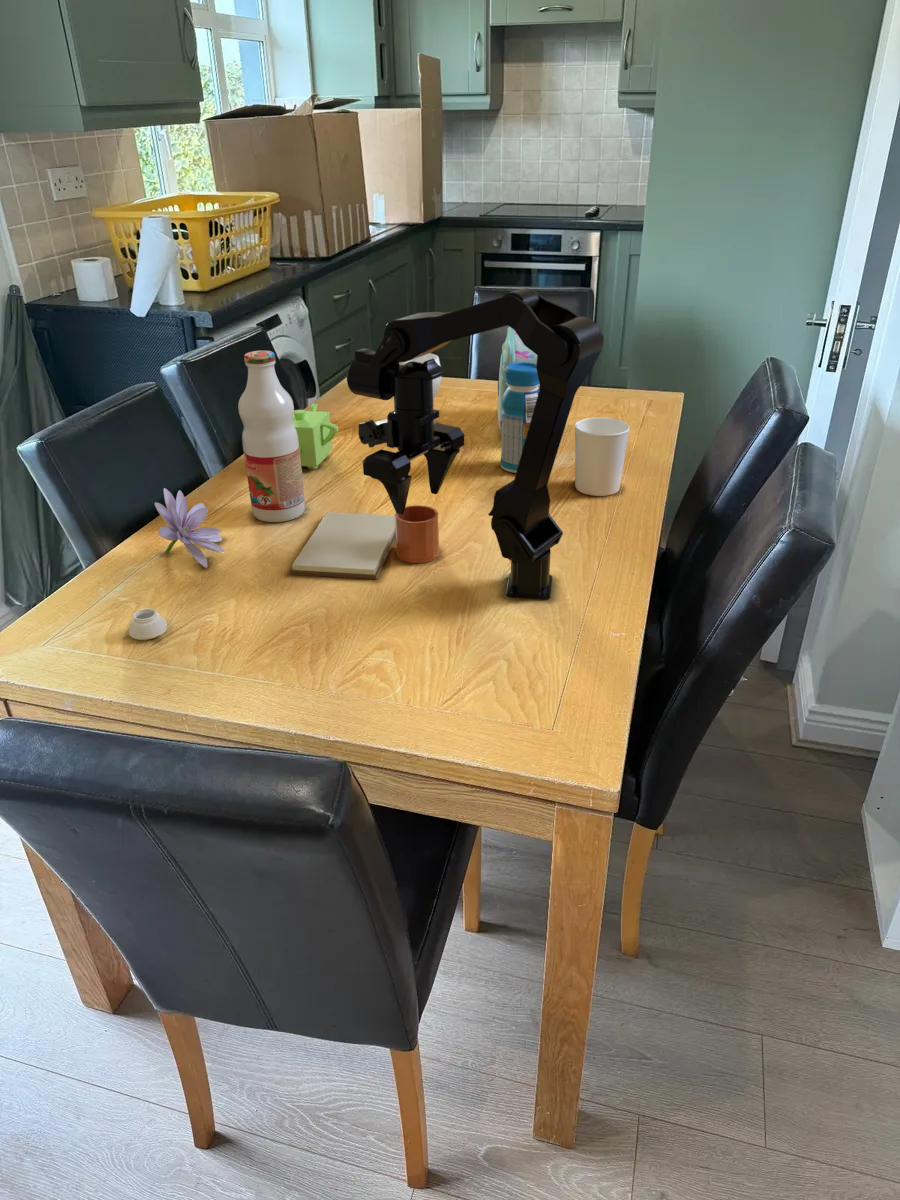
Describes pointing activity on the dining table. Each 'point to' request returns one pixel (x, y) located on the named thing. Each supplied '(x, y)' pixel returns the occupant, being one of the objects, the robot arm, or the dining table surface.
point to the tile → (347, 546)
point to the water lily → (187, 526)
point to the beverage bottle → (517, 411)
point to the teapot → (314, 435)
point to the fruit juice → (270, 443)
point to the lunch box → (511, 354)
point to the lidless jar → (146, 624)
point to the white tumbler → (600, 455)
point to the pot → (417, 534)
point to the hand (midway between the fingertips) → (417, 503)
